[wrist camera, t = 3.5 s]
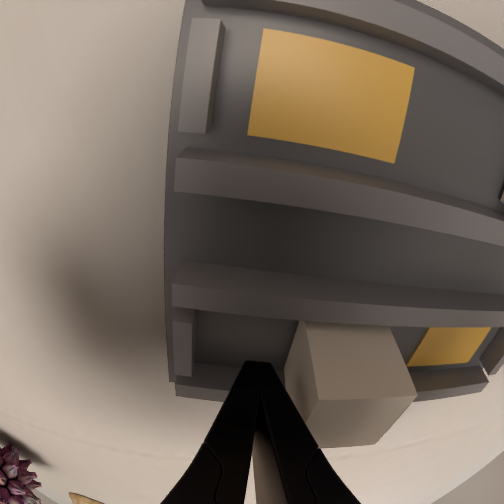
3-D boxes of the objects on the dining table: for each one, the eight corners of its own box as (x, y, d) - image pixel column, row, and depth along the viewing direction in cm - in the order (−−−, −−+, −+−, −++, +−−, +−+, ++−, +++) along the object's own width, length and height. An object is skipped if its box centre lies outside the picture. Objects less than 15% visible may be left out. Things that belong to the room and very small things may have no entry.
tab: (383, 315, 10) (417, 395, 7) (355, 370, 12) (375, 443, 9) (302, 309, 10) (318, 399, 7) (283, 368, 12) (290, 448, 9)
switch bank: (568, 116, 7) (608, 132, 5) (461, 365, 15) (478, 399, 12) (203, -28, 6) (186, -63, 4) (175, 356, 14) (164, 404, 11)
